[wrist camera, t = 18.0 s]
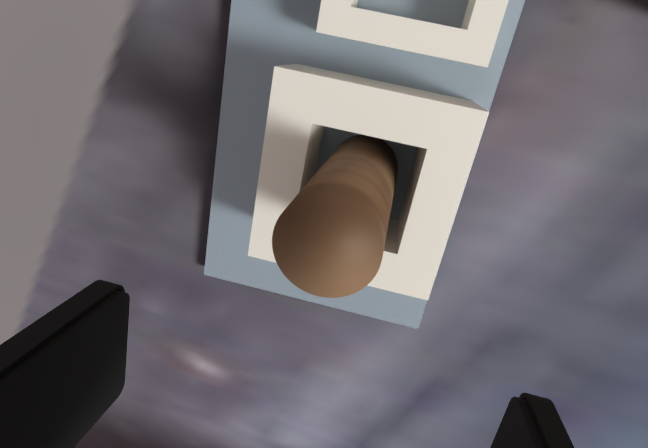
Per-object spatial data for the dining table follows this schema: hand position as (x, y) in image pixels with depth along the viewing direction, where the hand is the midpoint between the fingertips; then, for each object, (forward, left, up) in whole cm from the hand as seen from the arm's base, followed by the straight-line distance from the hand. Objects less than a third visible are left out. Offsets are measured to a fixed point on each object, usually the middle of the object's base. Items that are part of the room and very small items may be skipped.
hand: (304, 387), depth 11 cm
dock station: (+4, +2, -19) cm, 20 cm away
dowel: (+1, 0, -18) cm, 18 cm away
